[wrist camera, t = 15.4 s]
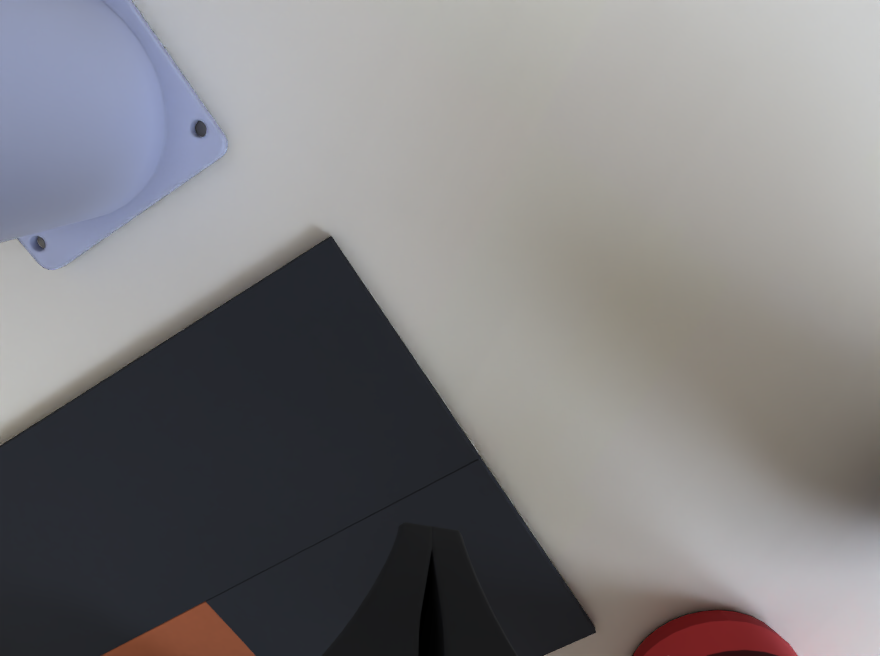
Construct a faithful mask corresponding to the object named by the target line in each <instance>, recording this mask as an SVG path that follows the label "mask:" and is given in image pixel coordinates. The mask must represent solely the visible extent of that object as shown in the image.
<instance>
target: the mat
mask: <svg viewBox="0 0 880 656" xmlns="http://www.w3.org/2000/svg"><path fill="white" fill-rule="evenodd" d="M404 522H406V523H413V524H419V525H426V526H433V527H440V528H446V529H453V530H459V532H460V533H461V534H462V536H463V540H464V543H465V546H466V550H467V552H468V555H469V558H470V561H471V563H472V566H473V568H474V571H475V573H476V576H477V578H478V580H479V583H480V585H481V587H482V589H483V592H484V594H485V596H486V598H487V600H488V602H489V604H490V606H491V609H492V611H493V612H494V614H495V616H496V618H497V620H498V622H499V624H500V626H501V628H502V629H503V631H504V633H505V635H506V637H507V639H508V640H509V642H510V644H511V645H512V647H513V649H514V651H515V652H516V654H517V655H518V656H544V655H546V654H548V653H550V652H553V651H555V650H557V649H560V648H562V647H564V646H566V645H569V644H571V643H573V642H575V641H578V640H580V639H582V638H585V637H587V636H589V635H591V634H594V633H596V630H595V627H594V624H593V623H592V622H591V620H590V619H589V617H588V616H587V614H586V613H585V611H584V610H583V608H582V607H581V605H580V604H579V602H578V601H577V599H576V598H575V596H574V595H573V593H572V592H571V590H570V589H569V587H568V586H567V584H566V583H565V582H564V580H563V579H562V577H561V576H560V574H559V573H558V571H557V570H556V568H555V567H554V565H553V564H552V562H551V561H550V559H549V558H548V556H547V555H546V553H545V552H544V550H543V549H542V547H541V546H540V544H539V543H538V541H537V540H536V539H535V537H534V536H533V534H532V533H531V531H530V530H529V528H528V527H527V525H526V524H525V522H524V521H523V519H522V518H521V516H520V515H519V513H518V512H517V510H516V509H515V507H514V506H513V504H512V503H511V501H510V500H509V499H508V497H507V496H506V494H505V493H504V491H503V490H502V488H501V487H500V485H499V484H498V482H497V481H496V479H495V478H494V476H493V475H492V473H491V472H490V470H489V469H488V467H487V466H486V464H485V463H484V461H483V460H482V459H481V457H480V456H479V455H478V453H477V451H476V450H475V448H474V447H473V445H472V444H471V442H470V441H469V439H468V438H467V436H466V435H465V433H464V432H463V430H462V429H461V427H460V426H459V424H458V423H457V421H456V420H455V418H454V417H453V416H452V414H451V413H450V411H449V410H448V408H447V407H446V405H445V404H444V402H443V401H442V399H441V398H440V396H439V395H438V393H437V392H436V390H435V389H434V387H433V386H432V384H431V383H430V381H429V380H428V378H427V377H426V376H425V374H424V373H423V371H422V370H421V368H420V367H419V365H418V364H417V362H416V361H415V359H414V358H413V356H412V355H411V353H410V352H409V350H408V349H407V347H406V346H405V344H404V343H403V341H402V340H401V338H400V337H399V336H398V334H397V333H396V331H395V330H394V328H393V327H392V325H391V324H390V322H389V321H388V319H387V318H386V316H385V315H384V313H383V312H382V310H381V309H380V307H379V306H378V304H377V303H376V301H375V300H374V298H373V297H372V296H371V294H370V293H369V291H368V290H367V288H366V287H365V285H364V284H363V282H362V281H361V279H360V278H359V276H358V275H357V273H356V272H355V270H354V269H353V267H352V266H351V264H350V263H349V261H348V260H347V258H346V257H345V255H344V254H343V253H342V251H341V250H340V248H339V247H338V245H337V244H336V242H335V241H334V239H333V238H332V237H331V236H330V237H329V238H327V239H325V240H324V241H322V242H321V243H319V244H317V245H316V246H314V247H313V248H311V249H310V250H308V251H306V252H305V253H303V254H302V255H300V256H299V257H297V258H295V259H294V260H292V261H291V262H289V263H288V264H286V265H284V266H283V267H281V268H280V269H278V270H277V271H275V272H273V273H272V274H270V275H269V276H267V277H266V278H264V279H262V280H261V281H259V282H258V283H256V284H255V285H253V286H251V287H250V288H248V289H247V290H245V291H244V292H242V293H240V294H239V295H237V296H236V297H234V298H232V299H231V300H229V301H228V302H226V303H225V304H223V305H221V306H220V307H218V308H217V309H215V310H214V311H212V312H210V313H209V314H207V315H206V316H204V317H203V318H201V319H199V320H198V321H196V322H195V323H193V324H192V325H190V326H188V327H187V328H185V329H184V330H182V331H181V332H179V333H177V334H176V335H174V336H173V337H171V338H170V339H168V340H166V341H165V342H163V343H162V344H160V345H159V346H157V347H155V348H154V349H152V350H151V351H149V352H148V353H146V354H144V355H143V356H141V357H140V358H138V359H136V360H135V361H133V362H132V363H130V364H129V365H127V366H125V367H124V368H122V369H121V370H119V371H118V372H116V373H114V374H113V375H111V376H110V377H108V378H107V379H105V380H103V381H102V382H100V383H99V384H97V385H96V386H94V387H92V388H91V389H89V390H88V391H86V392H85V393H83V394H81V395H80V396H78V397H77V398H75V399H74V400H72V401H70V402H69V403H67V404H66V405H64V406H63V407H61V408H59V409H58V410H56V411H55V412H53V413H51V414H50V415H48V416H47V417H45V418H44V419H42V420H40V421H39V422H37V423H36V424H34V425H33V426H31V427H29V428H28V429H26V430H25V431H23V432H22V433H20V434H18V435H17V436H15V437H14V438H12V439H11V440H9V441H7V442H6V443H4V444H3V445H1V446H0V656H322V655H323V654H324V652H325V651H326V650H327V649H328V648H329V647H330V645H331V644H332V643H333V642H334V640H335V639H336V638H337V637H338V635H339V634H340V633H341V632H342V630H343V629H344V628H345V626H346V625H347V624H348V622H349V621H350V620H351V618H352V617H353V615H354V614H355V612H356V611H357V609H358V608H359V606H360V605H361V603H362V602H363V600H364V599H365V597H366V596H367V594H368V593H369V591H370V589H371V588H372V586H373V585H374V583H375V581H376V579H377V577H378V575H379V574H380V572H381V570H382V568H383V566H384V565H385V563H386V561H387V558H388V556H389V554H390V552H391V550H392V547H393V545H394V542H395V540H396V536H397V533H398V528H399V525H401V524H403V523H404Z"/></svg>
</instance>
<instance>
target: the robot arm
mask: <svg viewBox="0 0 880 656" xmlns="http://www.w3.org/2000/svg"><path fill="white" fill-rule="evenodd" d="M198 121H202V122H203V123H204V124H205V126H206V128H207V132H206V135H205V136H204V137H200V136H199V135H198V134H197V133H196V130H195V125H196V124H197V122H198ZM227 148H228V142H227V138H226V136H225V134H224V133H223V131H222V130H221V128H220V127H219V126H218V124H217V123H216V121H215V120H214V118H213V117H212V115H211V114H210V113H209V111H208V110H207V108H206V107H205V105H204V104H203V103H202V101H201V100H200V98H199V97H198V95H197V94H196V92H195V91H194V90H193V88H192V87H191V85H190V84H189V82H188V81H187V79H186V78H185V77H184V75H183V74H182V72H181V71H180V69H179V68H178V67H177V65H176V64H175V62H174V61H173V59H172V58H171V56H170V55H169V54H168V52H167V51H166V49H165V48H164V46H163V45H162V43H161V42H160V41H159V39H158V38H157V36H156V35H155V33H154V32H153V31H152V29H151V28H150V26H149V25H148V23H147V22H146V20H145V19H144V18H143V16H142V15H141V13H140V12H139V10H138V9H137V7H136V6H135V5H134V3H133V2H132V0H0V243H1V242H5V241H8V240H12V239H16V238H17V239H18V240H19V241H20V242H21V244H22V245H23V246H24V247H25V248H26V249H27V251H28V252H29V253H30V254H31V255H32V257H33V258H34V259H35V260H36V261H37V262H38V264H40V265H41V266H42V267H43V268H46V269H48V270H55V269H58V268H61V267H63V266H65V265H67V264H68V263H70V262H71V261H72V260H74V259H75V258H77V257H78V256H80V255H81V254H83V253H84V252H85V251H87V250H88V249H90V248H91V247H93V246H94V245H95V244H97V243H98V242H100V241H101V240H103V239H104V238H106V237H107V236H108V235H110V234H111V233H113V232H114V231H116V230H117V229H119V228H120V227H121V226H123V225H124V224H126V223H127V222H129V221H130V220H131V219H133V218H134V217H136V216H137V215H139V214H140V213H142V212H143V211H144V210H146V209H147V208H149V207H150V206H152V205H153V204H155V203H156V202H157V201H159V200H160V199H162V198H163V197H165V196H166V195H168V194H169V193H170V192H172V191H173V190H175V189H176V188H178V187H179V186H180V185H182V184H183V183H185V182H186V181H188V180H189V179H191V178H192V177H193V176H195V175H196V174H198V173H199V172H201V171H202V170H204V169H205V168H206V167H208V166H209V165H211V164H212V163H214V162H215V161H216V160H218V159H219V158H221V157H222V156H223V155H224V154H225V153H226V151H227ZM38 236H39V237H41V238H42V239H43V240H44V242H45V248H42V247H41V246H40V245H39V244H38V242H37V238H38ZM322 656H518V655H517V654H516V652H515V651H514V649H513V647H512V645H511V644H510V642H509V640H508V639H507V637H506V635H505V633H504V631H503V629H502V628H501V626H500V624H499V622H498V620H497V618H496V616H495V614H494V612H493V611H492V609H491V606H490V604H489V602H488V600H487V598H486V596H485V594H484V592H483V589H482V587H481V585H480V583H479V580H478V578H477V576H476V573H475V571H474V568H473V566H472V563H471V561H470V558H469V555H468V552H467V550H466V546H465V543H464V540H463V536H462V534H461V533H460V532H459V530H453V529H446V528H440V527H433V526H426V525H419V524H413V523H406V522H404V523H403V524H401V525H399V528H398V533H397V536H396V540H395V542H394V545H393V547H392V550H391V552H390V554H389V556H388V558H387V561H386V563H385V565H384V566H383V568H382V570H381V572H380V574H379V575H378V577H377V579H376V581H375V583H374V585H373V586H372V588H371V589H370V591H369V593H368V594H367V596H366V597H365V599H364V600H363V602H362V603H361V605H360V606H359V608H358V609H357V611H356V612H355V614H354V615H353V617H352V618H351V620H350V621H349V622H348V624H347V625H346V626H345V628H344V629H343V630H342V632H341V633H340V634H339V635H338V637H337V638H336V639H335V640H334V642H333V643H332V644H331V645H330V647H329V648H328V649H327V650H326V651H325V652H324V654H323V655H322Z"/></svg>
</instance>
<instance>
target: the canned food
mask: <svg viewBox="0 0 880 656" xmlns="http://www.w3.org/2000/svg"><path fill="white" fill-rule="evenodd" d="M633 656H798V655H797V654H796V653H795V651H794V650H793V649H792V647H791V646H790V645H789V643H788V642H786V641H785V640H784V639H783V638H782V637H780V636H779V635H778V634H777V633H776V632H775V631H773V630H772V629H771V628H770V627H769V626H767V625H766V624H765V623H764V622H762V621H760V620H758V619H756V618H754V617H752V616H749V615H746V614H742V613H739V612H734V611H724V610H712V611H701V612H697V613H692V614H687V615H685V616H682V617H679V618H677V619H674V620H672V621H670V622H668V623H666V624H665V625H663V626H661V627H659V628H658V629H656V630H655V631H654V632H653V633H652V634H650V635H649V636H648V637H647V638H646V639H645V640H644V641H643V642H642V643H641V644H640V646H639V647H638V648H637V649H636V651H635V653H634V654H633Z"/></svg>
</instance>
